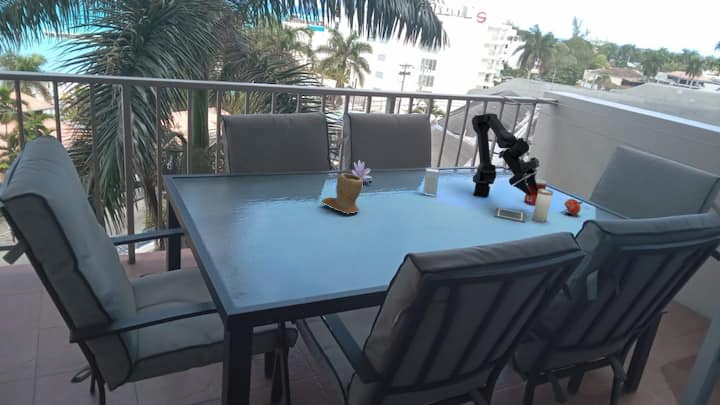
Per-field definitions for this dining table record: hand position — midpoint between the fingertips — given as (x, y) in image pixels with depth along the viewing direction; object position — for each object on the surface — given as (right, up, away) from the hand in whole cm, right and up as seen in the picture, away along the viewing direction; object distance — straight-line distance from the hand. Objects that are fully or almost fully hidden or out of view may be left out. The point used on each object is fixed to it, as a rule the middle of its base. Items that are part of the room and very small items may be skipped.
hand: (534, 192), depth 204 cm
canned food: (+8, -4, +23) cm, 25 cm away
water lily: (-73, +5, +29) cm, 78 cm away
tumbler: (+3, -11, +1) cm, 12 cm away
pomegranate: (+20, -10, +12) cm, 25 cm away
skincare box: (-41, -1, +21) cm, 46 cm away
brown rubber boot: (-81, -7, -7) cm, 81 cm away
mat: (-9, -10, +3) cm, 14 cm away
